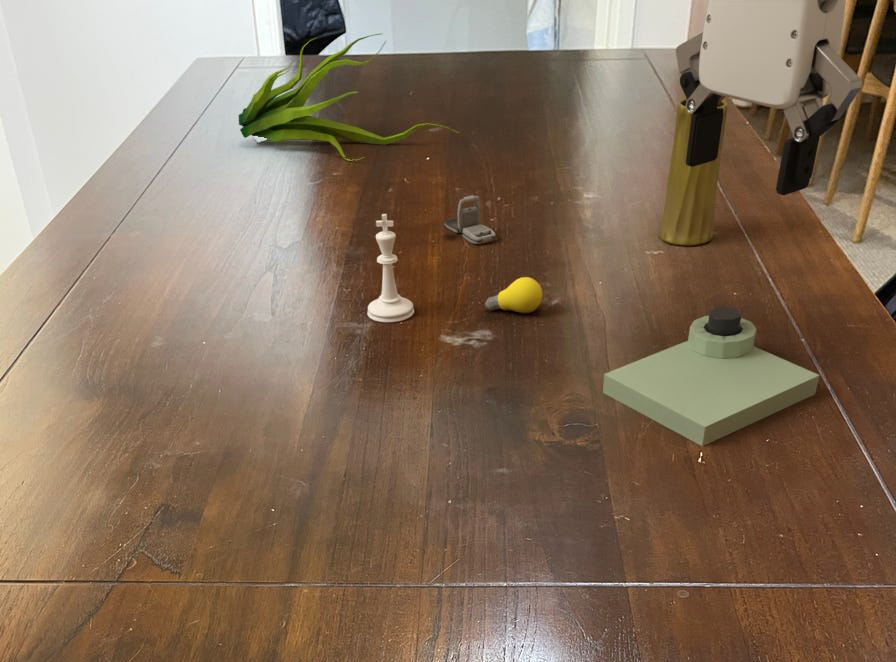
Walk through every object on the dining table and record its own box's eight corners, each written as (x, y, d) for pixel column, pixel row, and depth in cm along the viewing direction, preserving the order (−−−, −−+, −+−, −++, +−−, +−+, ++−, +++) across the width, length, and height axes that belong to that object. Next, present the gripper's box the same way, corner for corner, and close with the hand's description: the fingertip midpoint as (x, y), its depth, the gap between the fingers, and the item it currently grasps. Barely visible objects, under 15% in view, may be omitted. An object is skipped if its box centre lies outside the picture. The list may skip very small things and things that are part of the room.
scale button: (721, 322, 93) (724, 304, 92) (745, 332, 91) (748, 313, 90) (700, 330, 92) (702, 312, 91) (723, 341, 90) (726, 322, 89)
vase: (681, 250, 114) (698, 113, 105) (647, 234, 119) (661, 101, 109) (723, 239, 116) (744, 103, 107) (689, 224, 121) (706, 92, 111)
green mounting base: (715, 344, 97) (721, 309, 94) (821, 391, 89) (830, 354, 86) (599, 391, 91) (602, 355, 88) (702, 447, 83) (708, 408, 80)
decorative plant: (376, 181, 139) (368, 60, 129) (235, 146, 154) (218, 36, 144) (459, 147, 148) (457, 32, 139) (318, 117, 164) (308, 12, 154)
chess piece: (371, 302, 108) (364, 206, 101) (417, 303, 107) (412, 206, 100) (363, 322, 104) (355, 223, 97) (410, 323, 103) (405, 223, 97)
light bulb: (546, 315, 103) (536, 288, 100) (490, 329, 105) (479, 303, 102) (546, 293, 105) (537, 266, 102) (492, 307, 107) (481, 280, 104)
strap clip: (498, 241, 119) (498, 204, 117) (475, 246, 118) (475, 209, 116) (463, 220, 125) (463, 184, 122) (441, 225, 124) (441, 189, 121)
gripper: (926, -74, 68) (862, 192, 79) (730, -91, 79) (699, 144, 90) (853, -60, 65) (798, 214, 76) (660, -80, 76) (637, 162, 87)
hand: (744, 176), depth 83 cm, fingers open, 9 cm apart
